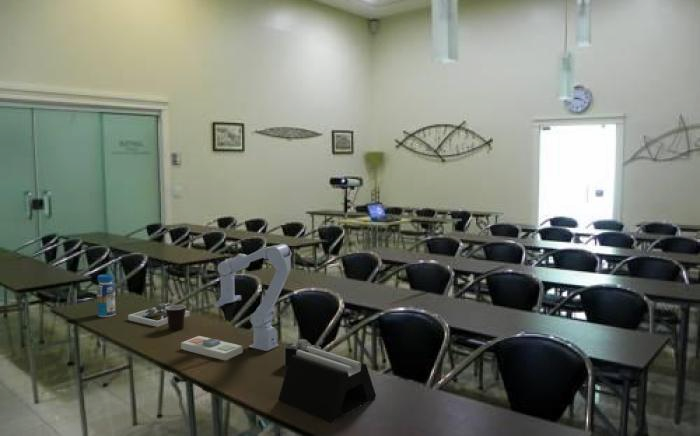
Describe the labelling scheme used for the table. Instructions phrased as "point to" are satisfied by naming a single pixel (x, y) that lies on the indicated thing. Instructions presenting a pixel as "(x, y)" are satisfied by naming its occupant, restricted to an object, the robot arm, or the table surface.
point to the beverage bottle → (106, 296)
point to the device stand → (325, 384)
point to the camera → (296, 348)
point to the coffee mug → (176, 317)
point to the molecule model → (158, 307)
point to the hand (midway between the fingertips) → (228, 320)
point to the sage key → (226, 347)
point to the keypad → (212, 349)
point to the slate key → (211, 342)
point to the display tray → (139, 318)
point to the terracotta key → (197, 340)
